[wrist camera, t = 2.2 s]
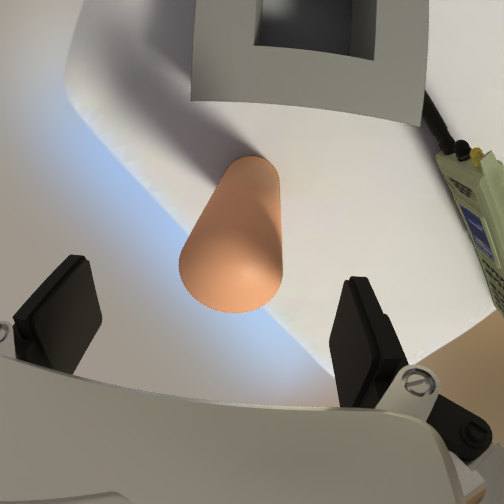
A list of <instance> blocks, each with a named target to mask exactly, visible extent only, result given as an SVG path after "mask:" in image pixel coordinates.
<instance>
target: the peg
mask: <svg viewBox="0 0 504 504" xmlns="http://www.w3.org/2000/svg"><path fill="white" fill-rule="evenodd" d="M179 272H180V276H181V279H182V282H183V284H184V286H185V287H186V289H187V290H188V291H189V293H190V294H191V295H192V296H193V297H194V298H195V299H196V300H198V301H199V302H200V303H202V304H203V305H205V306H207V307H209V308H211V309H214V310H217V311H221V312H226V313H243V312H248V311H252V310H255V309H257V308H259V307H261V306H263V305H265V304H266V303H267V302H269V301H270V300H271V299H272V298H273V297H274V295H275V294H276V293H277V291H278V289H279V287H280V284H281V281H282V274H283V265H282V232H281V204H280V181H279V176H278V173H277V171H276V169H275V167H274V166H273V165H272V164H271V163H270V162H269V161H267V160H266V159H264V158H261V157H258V156H244V157H241V158H239V159H237V160H235V161H234V162H233V163H232V164H231V165H230V166H229V167H228V169H227V170H226V172H225V174H224V175H223V177H222V179H221V180H220V182H219V184H218V186H217V187H216V189H215V191H214V193H213V194H212V196H211V198H210V200H209V201H208V203H207V205H206V207H205V208H204V210H203V212H202V214H201V216H200V217H199V219H198V221H197V223H196V225H195V226H194V228H193V230H192V232H191V234H190V236H189V237H188V239H187V241H186V243H185V245H184V247H183V249H182V251H181V254H180V258H179Z"/></svg>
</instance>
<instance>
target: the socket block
mask: <svg viewBox="0 0 504 504" xmlns="http://www.w3.org/2000/svg"><path fill="white" fill-rule="evenodd" d="M262 6H263V0H196V9H195V22H194V36H193V53H192V74H191V101H225V102H249V103H266V104H279V105H290V106H300V107H309V108H317V109H325V110H333V111H340V112H346V113H353V114H359V115H364V116H370V117H376V118H381V119H386V120H391V121H396V122H400V123H405V124H409V125H414V126H418V127H420V124H421V116H422V109H423V100H424V91H425V81H426V69H427V54H428V32H429V0H352V17H351V37H350V52H349V56H345V55H339V54H333V53H326V52H319V51H312V50H303V49H294V48H283V47H269V46H260V37H261V21H262Z"/></svg>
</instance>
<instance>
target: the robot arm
mask: <svg viewBox="0 0 504 504" xmlns="http://www.w3.org/2000/svg"><path fill="white" fill-rule="evenodd" d="M13 319H14V322H15V324H14V325H13V326H12V325H11V324H10V323H9V322H7V321H0V504H504V448H503V447H502V446H501V445H500V444H499V443H497V444H496V445H494V444H493V443H492V431H491V429H490V426H489V425H488V424H487V423H486V421H484V420H483V419H481V418H480V417H478V416H477V415H475V414H473V413H471V412H470V411H468V410H466V409H464V408H463V407H461V406H459V405H457V404H455V403H454V402H452V401H450V400H449V399H447V398H445V397H444V396H442V395H440V394H439V392H440V382H439V380H438V378H437V376H436V375H435V374H434V373H433V372H432V371H431V370H429V369H428V368H426V367H423V366H421V365H409V364H408V361H407V359H406V356H405V354H404V352H403V349H402V347H401V344H400V342H399V340H398V337H397V335H396V333H395V330H394V328H393V326H392V323H391V321H390V319H389V317H388V315H386V314H383V311H382V309H381V307H380V305H379V302H378V300H377V298H376V296H375V293H374V291H373V289H372V287H371V285H370V283H369V280H368V278H367V277H355V276H351V277H350V279H349V280H345V281H344V284H343V288H342V292H341V297H340V301H339V305H338V308H337V312H336V316H335V320H334V324H333V327H332V331H331V335H330V339H329V348H330V353H331V358H332V363H333V369H334V374H335V380H336V385H337V391H338V397H339V403H340V407H298V406H275V405H257V404H243V403H231V402H221V401H212V400H204V399H195V398H188V397H180V396H174V395H167V394H161V393H155V392H148V391H143V390H138V389H132V388H127V387H123V386H118V385H113V384H108V383H104V382H100V381H95V380H91V379H87V378H83V377H79V376H75V375H73V373H74V371H75V369H76V367H77V365H78V364H79V362H80V360H81V358H82V357H83V355H84V353H85V351H86V350H87V348H88V346H89V344H90V343H91V341H92V339H93V338H94V335H95V334H96V332H97V331H98V329H99V327H100V326H101V323H102V314H101V311H100V306H99V302H98V298H97V294H96V290H95V285H94V281H93V277H92V272H91V267H90V263H89V261H88V260H86V258H85V257H84V256H81V255H69V256H68V257H67V258H66V259H65V260H64V261H63V262H62V263H61V264H60V265H59V266H58V267H57V268H56V269H55V271H53V273H52V274H51V275H50V276H49V277H48V278H47V279H46V280H45V281H44V282H43V283H42V284H41V285H40V287H39V288H38V289H37V290H36V291H35V292H34V293H33V294H32V295H31V297H30V298H29V299H28V300H27V301H26V302H25V303H24V304H23V305H22V307H21V308H20V309H19V310H18V311H17V313H16V314H15V315H14V316H13Z"/></svg>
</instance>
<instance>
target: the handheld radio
mask: <svg viewBox="0 0 504 504" xmlns="http://www.w3.org/2000/svg"><path fill="white" fill-rule="evenodd" d="M422 117H423V118H424V120H425V122H426V123H427V125H428V127H429V128H430V130H431V132H432V134H433V135H434V136H435V137H436V139H437V140H438V142H439V146H440V148H441V151H439V152H438V153H437V154H436V156H435V160H436V163H437V165H438V167H439V169H440V171H441V173H442V174H443V176H444V178H445V180H446V182H447V184H448V186H449V189H450V191H451V193H452V195H453V197H454V200H455V202H456V204H457V206H458V208H459V211H460V213H461V215H462V217H463V220H464V222H465V224H466V227H467V229H468V231H469V234H470V236H471V239H472V241H473V244H474V247H475V249H476V251H477V254H478V257H479V259H480V262H481V265H482V268H483V270H484V273H485V276H486V279H487V282H488V285H489V288H490V291H491V294H492V298H493V301H494V304H495V307H496V308H497V309H498V311H499V312H500V313H501V314H502V316H503V317H504V166H503V164H502V162H501V161H498V160H496V158H495V156H494V154H493V152H492V151H489V152H488V153H487V154H485V155H484V154H483V152H482V150H481V149H480V148H474V149H471V148H470V146H469V144H468V143H467V142H466V141H464V140H458V141H456V142H455V141H454V139H453V138H452V137H451V136H450V134H449V132H448V130H447V126H446V124H445V123H444V121H443V119H442V117H441V116H440V114H439V112H438V110H437V109H436V107H435V105H434V104H433V102H432V100H431V99H430V97H429V95H428V94H427V92H426V90H425V91H424V100H423V109H422Z"/></svg>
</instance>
